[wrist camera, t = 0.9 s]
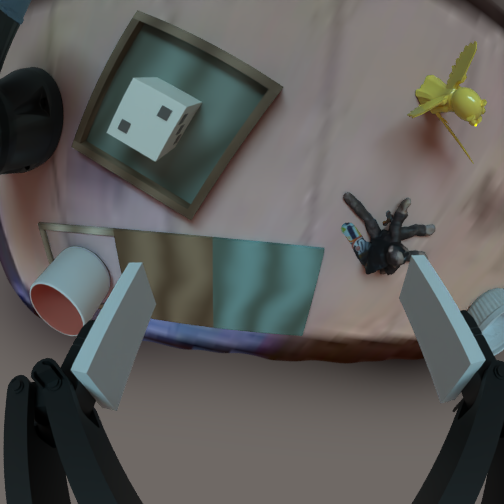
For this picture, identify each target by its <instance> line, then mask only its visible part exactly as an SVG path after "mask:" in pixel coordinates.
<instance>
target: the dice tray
mask: <svg viewBox="0 0 504 504" xmlns="http://www.w3.org/2000/svg"><path fill="white" fill-rule="evenodd" d="M141 77H158V78H160V79H161V80H163V81H165V82H167V83H169V84H171V85H173V86H174V87H176V88H178V89H180V90H182V91H183V92H185V93H187V94H189V95H191V96H192V97H194V98H196V99H198V100H199V101H201V102H202V104H201V105H200V107H199V108H198V110H197V112H196V113H195V115H194V116H193V118H192V120H191V121H190V123H189V125H188V126H187V128H186V129H185V131H184V133H183V135H182V136H181V138H180V140H179V141H178V143H177V145H176V147H175V148H174V149H172V150H171V151H169V152H168V153H167V154H165V155H164V156H163V157H161V158H160V159H159V160H157V161H156V162H155V161H153V160H152V159H150V158H148V157H147V156H145V155H143V154H142V153H140V152H138V151H137V150H135V149H133V148H132V147H130V146H128V145H126V144H125V143H123V142H121V141H120V140H118V139H116V138H115V137H113V136H111V135H109V134H108V133H107V131H108V128H109V126H110V124H111V122H112V119H113V117H114V115H115V113H116V111H117V109H118V107H119V105H120V103H121V100H122V98H123V96H124V94H125V92H126V91H127V89H128V87H129V85H130V83H131V81H132V79H133V78H141ZM282 88H283V86H281V85H280V84H278V83H277V82H275V81H273V80H272V79H270V78H269V77H267V76H266V75H264V74H263V73H261V72H259V71H258V70H256V69H255V68H253V67H251V66H250V65H248V64H246V63H245V62H243V61H241V60H240V59H238V58H236V57H234V56H233V55H231V54H229V53H227V52H225V51H224V50H222V49H220V48H218V47H216V46H214V45H213V44H211V43H209V42H207V41H205V40H203V39H201V38H199V37H197V36H195V35H193V34H191V33H189V32H187V31H185V30H182V29H180V28H178V27H176V26H174V25H172V24H169V23H167V22H165V21H162V20H160V19H158V18H155V17H153V16H150V15H148V14H145V13H143V12H140V11H138V10H137V12H136V13H135V15H134V17H133V18H132V20H131V21H130V23H129V25H128V26H127V28H126V29H125V31H124V33H123V35H122V36H121V38H120V40H119V41H118V43H117V45H116V47H115V49H114V50H113V52H112V54H111V56H110V58H109V60H108V62H107V64H106V66H105V68H104V70H103V72H102V74H101V76H100V78H99V80H98V82H97V84H96V86H95V89H94V91H93V93H92V95H91V97H90V100H89V102H88V105H87V107H86V109H85V112H84V114H83V117H82V119H81V122H80V125H79V127H78V130H77V133H76V135H75V138H74V141H73V144H72V148H74V149H75V150H77V151H79V152H80V153H82V154H84V155H85V156H87V157H88V158H90V159H92V160H93V161H95V162H97V163H98V164H100V165H101V166H103V167H105V168H106V169H108V170H110V171H111V172H113V173H114V174H116V175H118V176H119V177H121V178H123V179H124V180H126V181H127V182H129V183H131V184H132V185H134V186H136V187H137V188H139V189H141V190H142V191H144V192H145V193H147V194H149V195H150V196H152V197H154V198H155V199H157V200H159V201H160V202H162V203H163V204H165V205H167V206H168V207H170V208H172V209H173V210H175V211H177V212H178V213H180V214H181V215H183V216H185V217H186V218H188V219H190V220H191V219H192V218H193V216H194V215H195V213H196V211H197V210H198V208H199V207H200V205H201V204H202V202H203V201H204V199H205V197H206V196H207V194H208V193H209V191H210V190H211V188H212V187H213V185H214V184H215V182H216V181H217V179H218V178H219V176H220V175H221V173H222V172H223V170H224V169H225V167H226V166H227V164H228V163H229V161H230V160H231V158H232V157H233V156H234V154H235V153H236V151H237V150H238V148H239V147H240V145H241V144H242V143H243V141H244V140H245V138H246V137H247V136H248V134H249V133H250V131H251V130H252V129H253V127H254V126H255V124H256V123H257V122H258V120H259V119H260V118H261V116H262V115H263V113H264V112H265V111H266V109H267V108H268V107H269V105H270V104H271V103H272V101H273V100H274V99H275V97H276V96H277V95H278V93H279V92H280V91H281V90H282Z"/></svg>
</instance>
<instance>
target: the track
mask: <svg viewBox="0 0 504 504" xmlns="http://www.w3.org/2000/svg"><path fill="white" fill-rule="evenodd" d="M38 226H39V230H40V234H41V237H42V241H43V244H44V248H45V251H46V254H47V257H48V261H49V264H51V263H52V262H53V261H54V259H53V256H52V253H51V249H50V246H49V242H48V239H47V235H46V231H45V230H53V231H64V232H75V233H86V234H96V235H107V236H114V238H115V243H116V248H117V254H118V259H119V264H120V268H121V273H123V272H124V270H125V269H126V267H127V265H128V264H129V263H140V262H142V263H143V266H144V269H145V272H146V275H147V278H148V281H149V284H150V287H151V290H152V293H153V296H154V299H155V302H156V306H155V308H154V311H153V313H152V316H151V318H152V319H158V320H164V321H171V322H177V323H184V324H191V325H199V326H206V327H214V328H222V329H231V330H240V331H250V332H261V333H272V334H285V335H299V336H302V335H303V331H304V328H305V324H306V321H307V317H308V313H309V310H310V306H311V302H312V298H313V294H314V291H315V287H316V283H317V279H318V275H319V271H320V266H321V262H322V258H323V254H324V248H319V247H309V246H299V245H289V244H279V243H269V242H259V241H249V240H238V239H228V238H217V237H206V236H196V235H185V234H173V233H162V232H151V231H139V230H128V229H116V228H104V227H91V226H79V225H66V224H53V223H40V222H39V223H38ZM103 306H104V304H100V306H99V307H98V309H102V308H103Z"/></svg>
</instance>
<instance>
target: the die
mask: <svg viewBox="0 0 504 504" xmlns="http://www.w3.org/2000/svg"><path fill="white" fill-rule="evenodd" d="M201 104H202V102H201V101H199V100H198V99H196V98H194V97H192V96H191V95H189V94H187V93H185V92H183V91H182V90H180V89H178V88H176V87H174V86H173V85H171V84H169V83H167V82H165V81H163V80H161V79H160V78H158V77H141V78H133V79H132V81H131V83H130V85H129V87H128V89H127V91H126V92H125V94H124V96H123V98H122V100H121V103H120V105H119V107H118V109H117V111H116V113H115V115H114V117H113V119H112V122H111V124H110V126H109V128H108V131H107V133H108V134H109V135H111V136H113V137H115V138H116V139H118V140H120V141H121V142H123V143H125V144H126V145H128V146H130V147H132V148H133V149H135V150H137V151H138V152H140V153H142V154H143V155H145V156H147V157H148V158H150V159H152V160H153V161H155V162H156V161H157V160H159V159H160V158H161V157H163V156H164V155H165V154H167V153H168V152H169V151H171V150H172V149H174V148H175V147H176V145H177V143H178V141H179V140H180V138H181V136H182V135H183V133H184V131H185V129H186V128H187V126H188V125H189V123H190V121H191V120H192V118H193V116H194V115H195V113H196V112H197V110H198V108H199V107H200V105H201Z"/></svg>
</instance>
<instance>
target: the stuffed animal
mask: <svg viewBox="0 0 504 504" xmlns="http://www.w3.org/2000/svg"><path fill="white" fill-rule="evenodd" d="M344 199H345V201H346V203H347V204H349V205H350V207H351V208H352V209H353V210H354V211H355V212H356V214H357V215H358V216H359V217H360V218H361V219H363V220H364V222H365V225H366V229H367V231H368V233H369V234H370V236H371V242H366V241H365V240H364V239H363V237H362V235H361V234H360V233H359V231H358V230H357V228H356V227H355V226H354V225H353V224H352V223H345V224H343V225H342V228H341V231H342V232H343V234H344V235H345V236H346V238H347V239H348V240H349V242H350V244H351V245H352V248H353V250H354V252H355V254H356V256H357V258H358V260H359V261H360V262H361V264H362V265H364V266H365V269H366V274H370V273H374V272H376V271H377V270H380V274H386V273H387V274H388V275H389V274H393V273H395V271H396V270H397V269H398V268H399V267H400V265H402V264H404V263H405V262H406V261H410V259H411V255H425V257H426V258H427V256H426V254H425V253H424V252H422V251H409V250H408V249H407V248H406V247H405V246H404V245H403V244H401V240H404V239H407V238H410V237H412V236H414V235H417V236H426V235H428V236H430V235H432V234H433V233H434V232H435V226H434V225H427V226H425V225H417V224H415V225H412V226H409V227H401V226H402V223H403V222H404V220H405V219H406V218H407V216H408V214H407V208H408V207H409V206H410V204H411V199H410V198H406V199H404V200H403V201H402V202H401V203H400V206H399V208H398V209H397V210H396V212H395V214H394V216H393V215H391V214H390V211H387V212H386V217H387V220H386V221H383V225H384V226H387V224H388V223H389V222H391V224H390V226H389V230H388V231H387V230H382V231H381V229H380V228H379V226H378V224H377V222H376V220H375V219H373V217H372V215H371V214H370V213H369V212H368V211H367V210H366V209H365V207H364V206H363V205H362V203H361V202H360V201H358V200H357V199H356V198H355V197H354V196H353V195H352V194H351V193H348V192H347V193H345V195H344ZM427 260H428V258H427Z"/></svg>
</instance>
